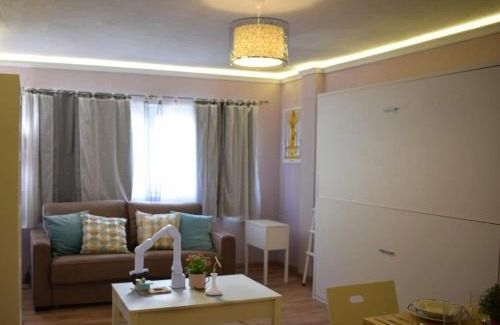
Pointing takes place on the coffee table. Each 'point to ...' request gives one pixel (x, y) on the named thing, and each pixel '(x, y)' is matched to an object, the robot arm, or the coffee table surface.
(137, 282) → the block
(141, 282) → the cover
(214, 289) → the flower in vase
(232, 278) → the coffee table surface
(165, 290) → the board
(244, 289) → the coffee table surface
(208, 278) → the coffee mug
